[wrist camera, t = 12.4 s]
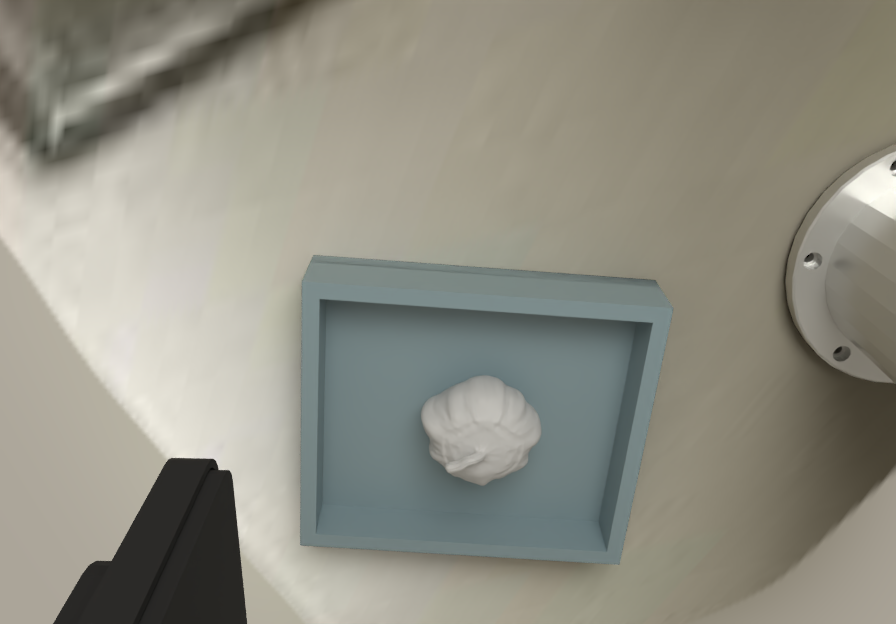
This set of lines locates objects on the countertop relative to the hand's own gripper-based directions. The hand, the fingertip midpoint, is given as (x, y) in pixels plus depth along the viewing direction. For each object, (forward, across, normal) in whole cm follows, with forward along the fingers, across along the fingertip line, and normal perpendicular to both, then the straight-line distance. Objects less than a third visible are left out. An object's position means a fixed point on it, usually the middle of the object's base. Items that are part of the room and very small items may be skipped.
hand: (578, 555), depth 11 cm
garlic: (+28, 0, +14) cm, 31 cm away
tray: (+29, 0, +14) cm, 32 cm away
